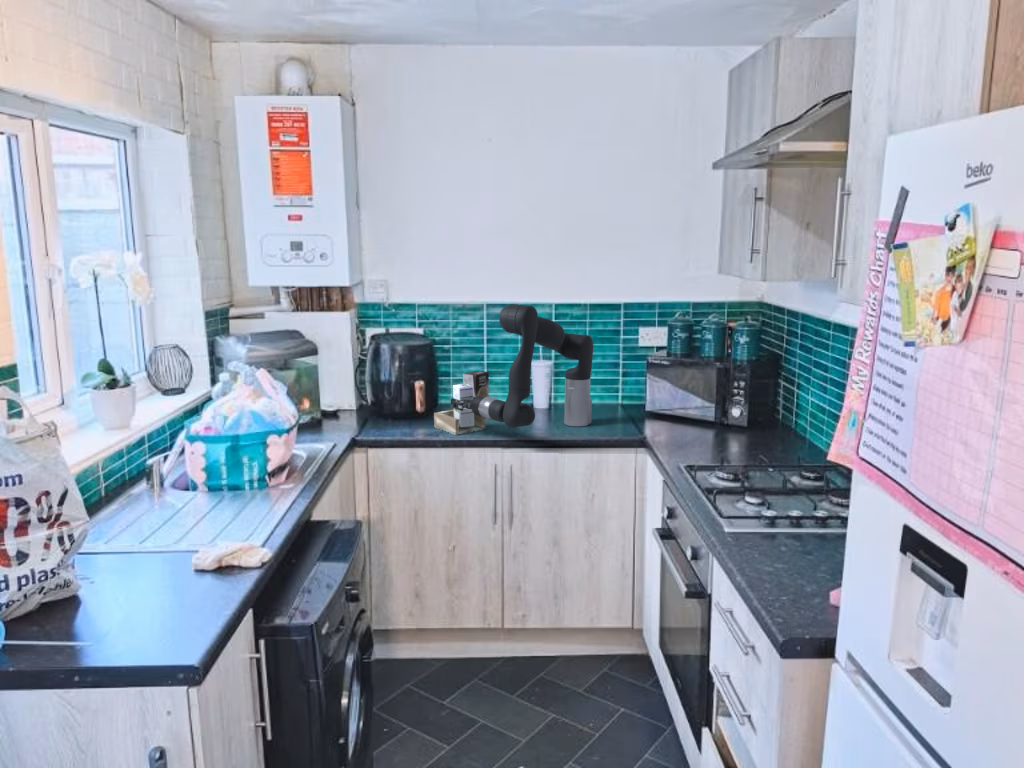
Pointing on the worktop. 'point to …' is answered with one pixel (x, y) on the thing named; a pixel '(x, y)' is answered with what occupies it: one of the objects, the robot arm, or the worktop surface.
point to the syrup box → (465, 393)
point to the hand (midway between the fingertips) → (459, 399)
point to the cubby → (456, 423)
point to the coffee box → (477, 382)
